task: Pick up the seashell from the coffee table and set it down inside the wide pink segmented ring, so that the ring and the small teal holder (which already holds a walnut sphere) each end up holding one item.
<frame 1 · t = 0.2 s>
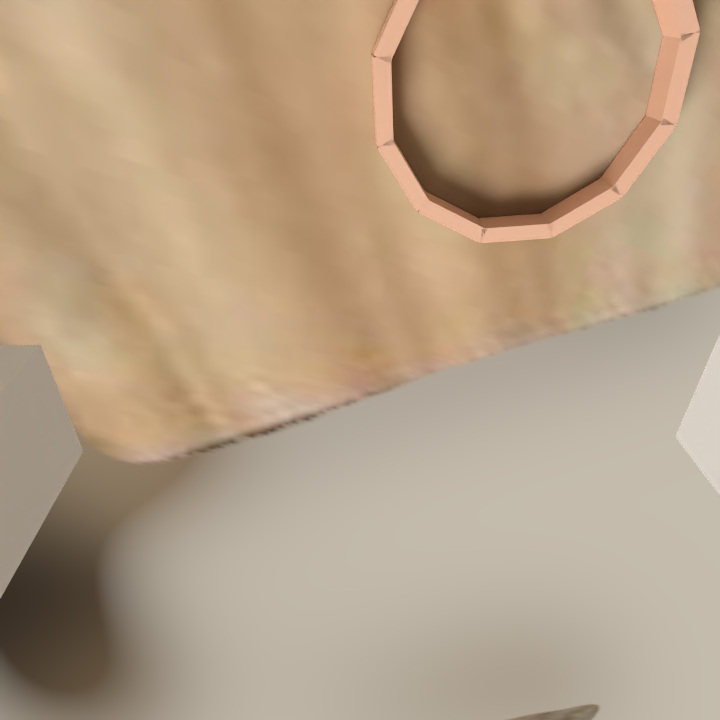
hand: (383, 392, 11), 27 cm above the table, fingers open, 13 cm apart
pink segmented ring: (521, 87, 33), on the table
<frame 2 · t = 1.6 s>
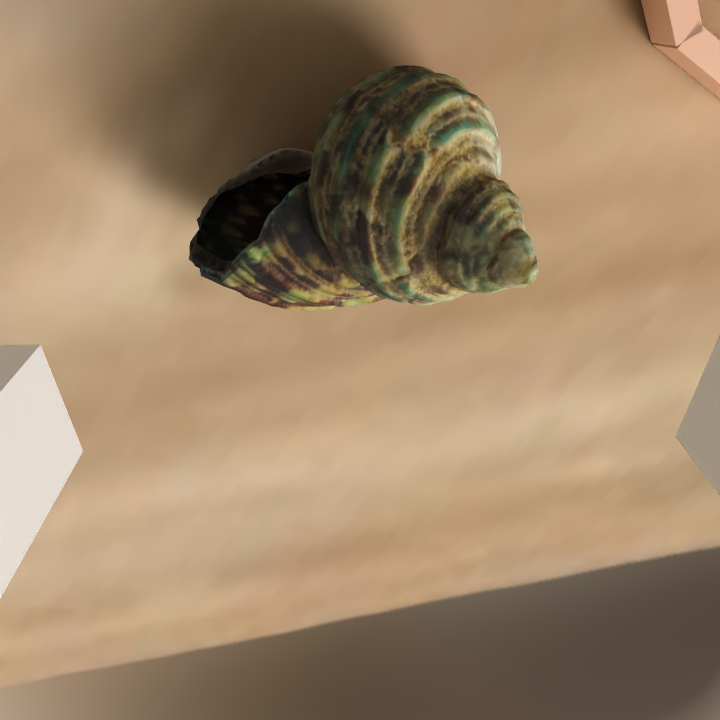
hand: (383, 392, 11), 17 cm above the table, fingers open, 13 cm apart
seashell: (352, 168, 25), on the table
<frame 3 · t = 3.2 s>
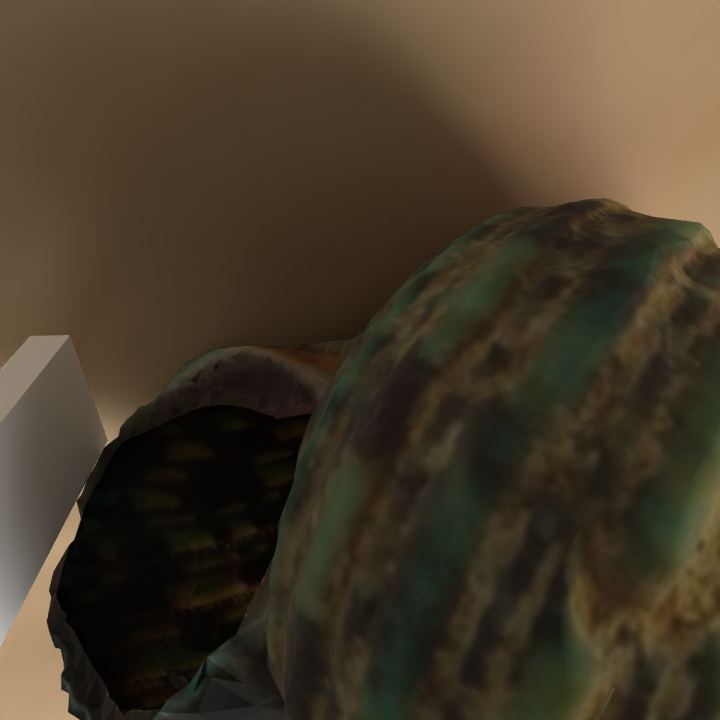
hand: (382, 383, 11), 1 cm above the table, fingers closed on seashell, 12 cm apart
seashell: (386, 344, 13), on the table, touching gripper
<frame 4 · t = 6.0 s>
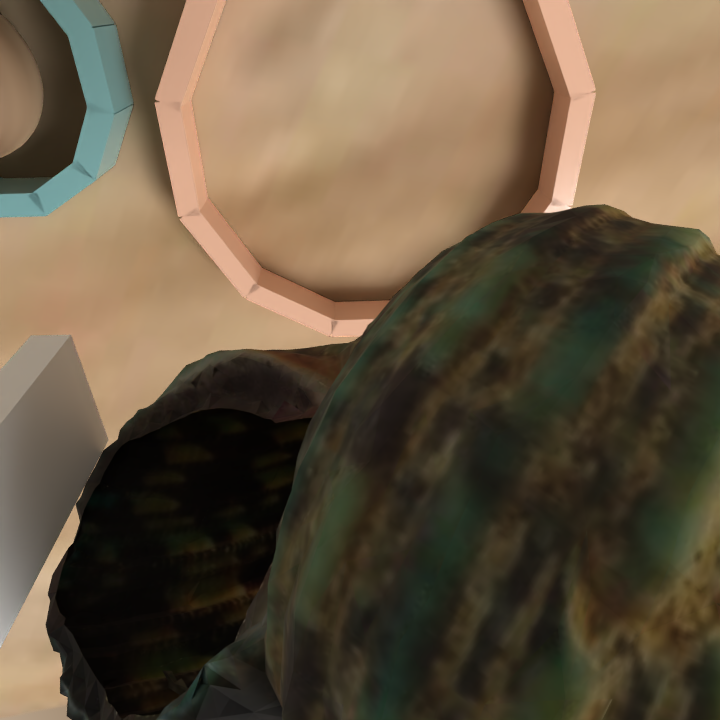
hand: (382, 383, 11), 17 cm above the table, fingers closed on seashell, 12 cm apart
seashell: (385, 347, 13), point 15 cm above the table, touching gripper
pink segmented ring: (374, 146, 25), on the table
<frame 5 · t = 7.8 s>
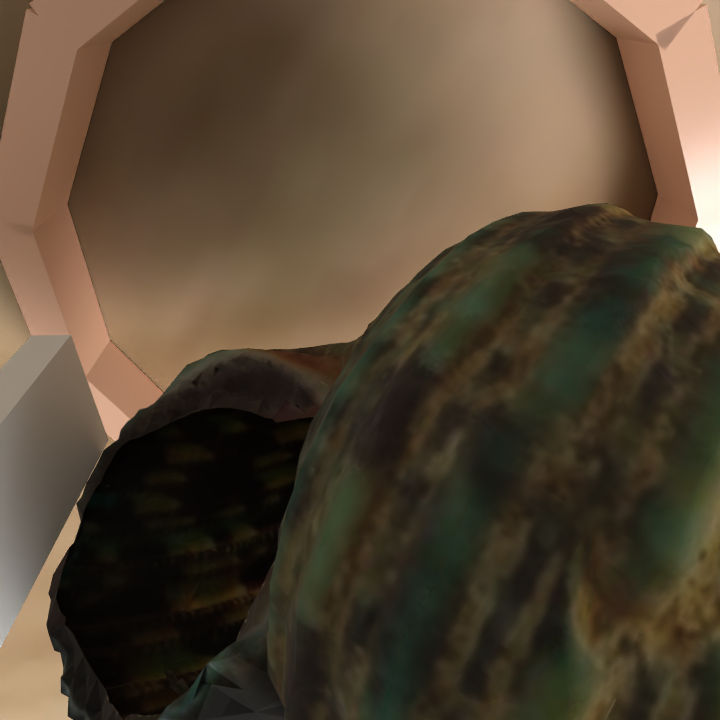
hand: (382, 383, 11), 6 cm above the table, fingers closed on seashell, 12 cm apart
seashell: (386, 347, 13), point 4 cm above the table, touching gripper
pink segmented ring: (366, 271, 16), on the table
when the fingers open (4 cm above the table, at t = 8.8 s): seashell drops 2 cm, resting in pink segmented ring.
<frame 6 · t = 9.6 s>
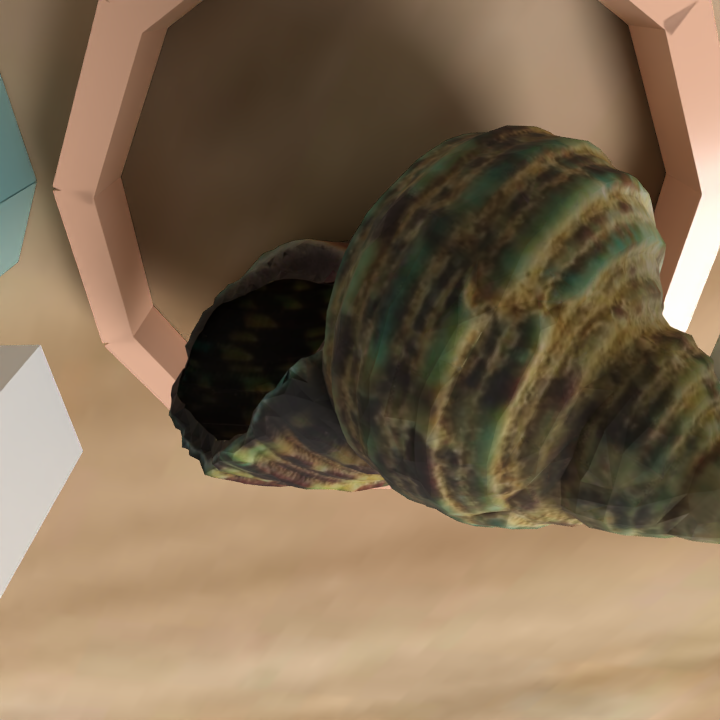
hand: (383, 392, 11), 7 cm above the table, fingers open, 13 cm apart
seashell: (407, 251, 17), resting in pink segmented ring
pink segmented ring: (391, 244, 17), on the table
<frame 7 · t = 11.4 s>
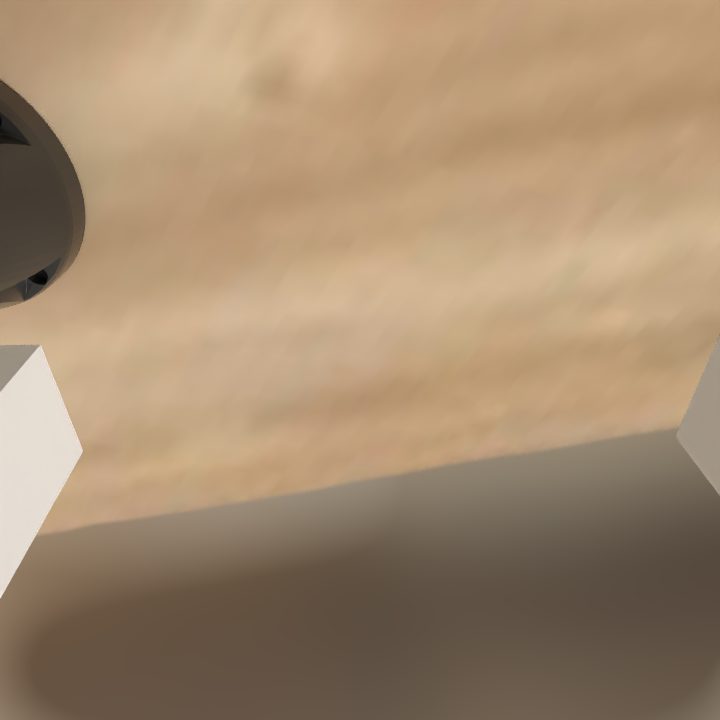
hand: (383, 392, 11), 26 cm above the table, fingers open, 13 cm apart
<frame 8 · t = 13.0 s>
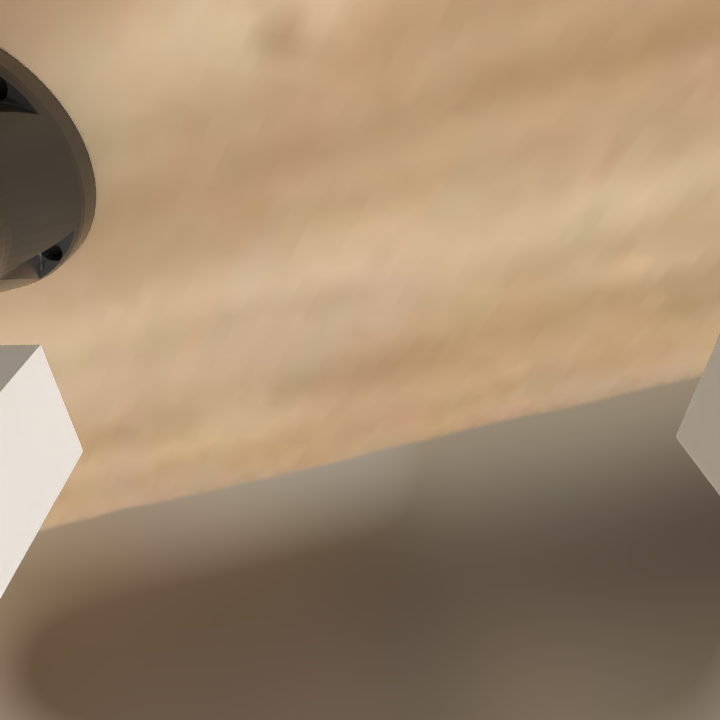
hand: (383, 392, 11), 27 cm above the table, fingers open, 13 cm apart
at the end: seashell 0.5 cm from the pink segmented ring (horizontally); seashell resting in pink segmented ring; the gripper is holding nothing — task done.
